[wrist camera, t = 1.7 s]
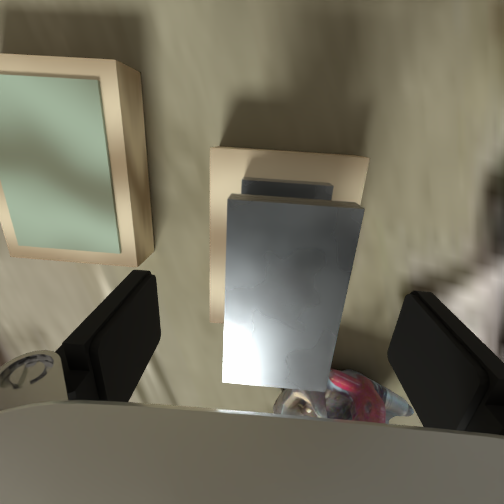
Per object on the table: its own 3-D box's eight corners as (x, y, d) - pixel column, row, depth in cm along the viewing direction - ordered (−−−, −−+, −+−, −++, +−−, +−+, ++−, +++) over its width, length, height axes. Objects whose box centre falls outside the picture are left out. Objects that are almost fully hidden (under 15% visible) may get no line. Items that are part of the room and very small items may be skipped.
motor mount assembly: (294, 339, 21) (444, 533, 13) (364, 329, 28) (489, 452, 20) (232, 427, 25) (318, 616, 17) (307, 399, 33) (392, 524, 25)
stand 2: (325, 309, 23) (333, 333, 20) (217, 300, 23) (209, 322, 20) (354, 155, 18) (370, 157, 16) (219, 146, 19) (210, 147, 16)
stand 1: (154, 251, 22) (136, 268, 19) (43, 242, 22) (8, 257, 19) (140, 72, 17) (113, 58, 14) (1, 64, 18) (-54, 49, 15)
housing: (308, 313, 20) (325, 392, 13) (237, 307, 20) (222, 382, 14) (329, 182, 16) (364, 209, 10) (243, 176, 16) (227, 199, 10)
